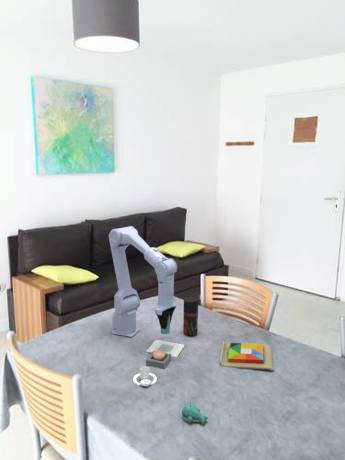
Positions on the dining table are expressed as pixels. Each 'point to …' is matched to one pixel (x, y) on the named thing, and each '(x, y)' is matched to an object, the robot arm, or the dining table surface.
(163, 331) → the marker
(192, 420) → the whale figurine
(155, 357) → the button
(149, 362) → the housing
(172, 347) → the pad
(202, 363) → the dining table surface
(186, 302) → the deodorant
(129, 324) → the robot arm
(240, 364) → the wooden puzzle
